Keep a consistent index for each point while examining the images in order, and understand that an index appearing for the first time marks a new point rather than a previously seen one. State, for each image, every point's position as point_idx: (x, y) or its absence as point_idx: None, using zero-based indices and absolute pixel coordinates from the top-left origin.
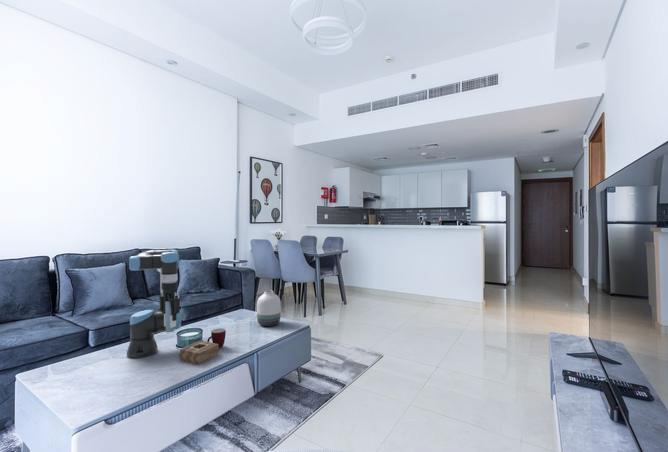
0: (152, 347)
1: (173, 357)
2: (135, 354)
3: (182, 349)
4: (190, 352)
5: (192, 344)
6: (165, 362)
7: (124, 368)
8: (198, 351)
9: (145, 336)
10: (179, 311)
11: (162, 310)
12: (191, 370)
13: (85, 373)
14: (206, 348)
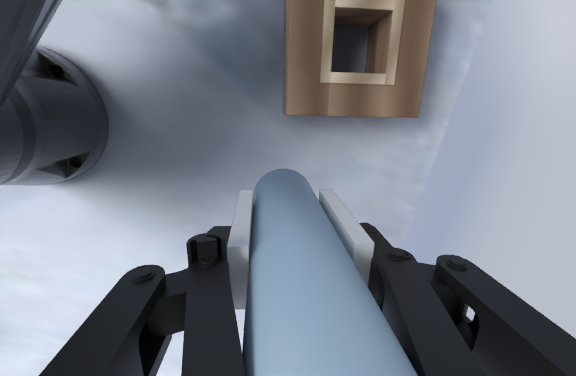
0: (81, 110)
1: (230, 99)
2: (71, 177)
3: (303, 111)
4: (361, 116)
5: (300, 30)
6: (243, 151)
7: (148, 247)
8: (399, 99)
9: (15, 150)
10: (479, 271)
11: (170, 332)
12: (395, 163)
13: (67, 318)
14: (415, 50)
